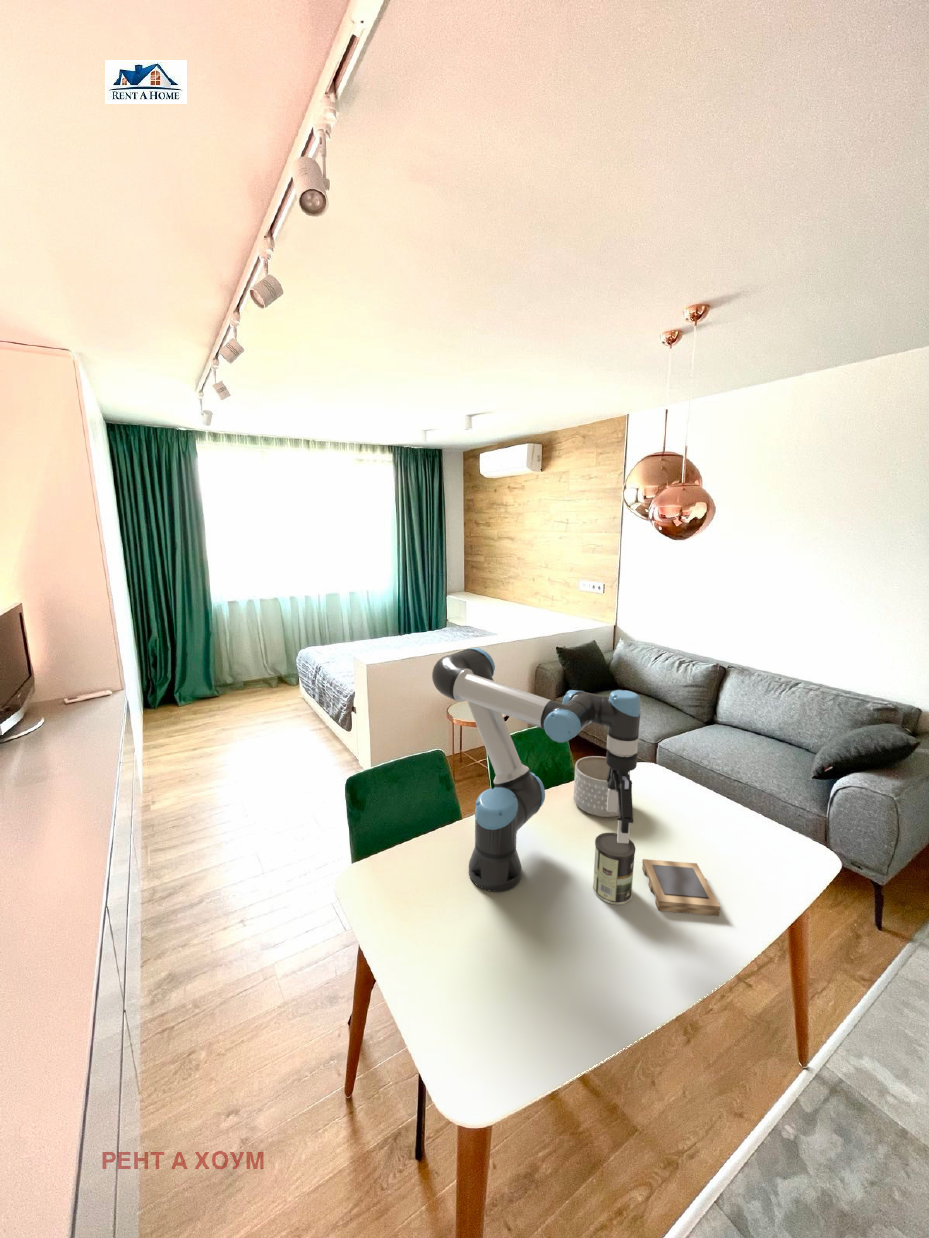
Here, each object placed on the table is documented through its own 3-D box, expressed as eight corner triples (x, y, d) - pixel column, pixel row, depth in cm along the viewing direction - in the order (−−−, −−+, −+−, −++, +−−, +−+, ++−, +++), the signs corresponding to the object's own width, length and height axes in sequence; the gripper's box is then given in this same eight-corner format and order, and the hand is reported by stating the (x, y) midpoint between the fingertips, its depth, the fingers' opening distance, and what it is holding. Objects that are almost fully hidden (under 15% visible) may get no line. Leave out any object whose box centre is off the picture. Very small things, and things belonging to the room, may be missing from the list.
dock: (658, 911, 120) (659, 899, 120) (641, 868, 136) (642, 857, 135) (719, 916, 118) (720, 905, 118) (695, 872, 134) (696, 862, 134)
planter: (593, 786, 181) (595, 751, 178) (637, 807, 167) (640, 770, 164) (562, 802, 169) (564, 766, 167) (607, 827, 155) (610, 787, 152)
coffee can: (628, 880, 131) (632, 834, 129) (634, 908, 121) (638, 859, 119) (591, 874, 133) (593, 829, 131) (593, 901, 123) (596, 853, 121)
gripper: (650, 775, 107) (644, 858, 111) (625, 731, 132) (621, 800, 136) (617, 773, 108) (611, 855, 112) (598, 730, 133) (594, 799, 136)
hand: (617, 825), depth 124 cm, fingers open, 13 cm apart
